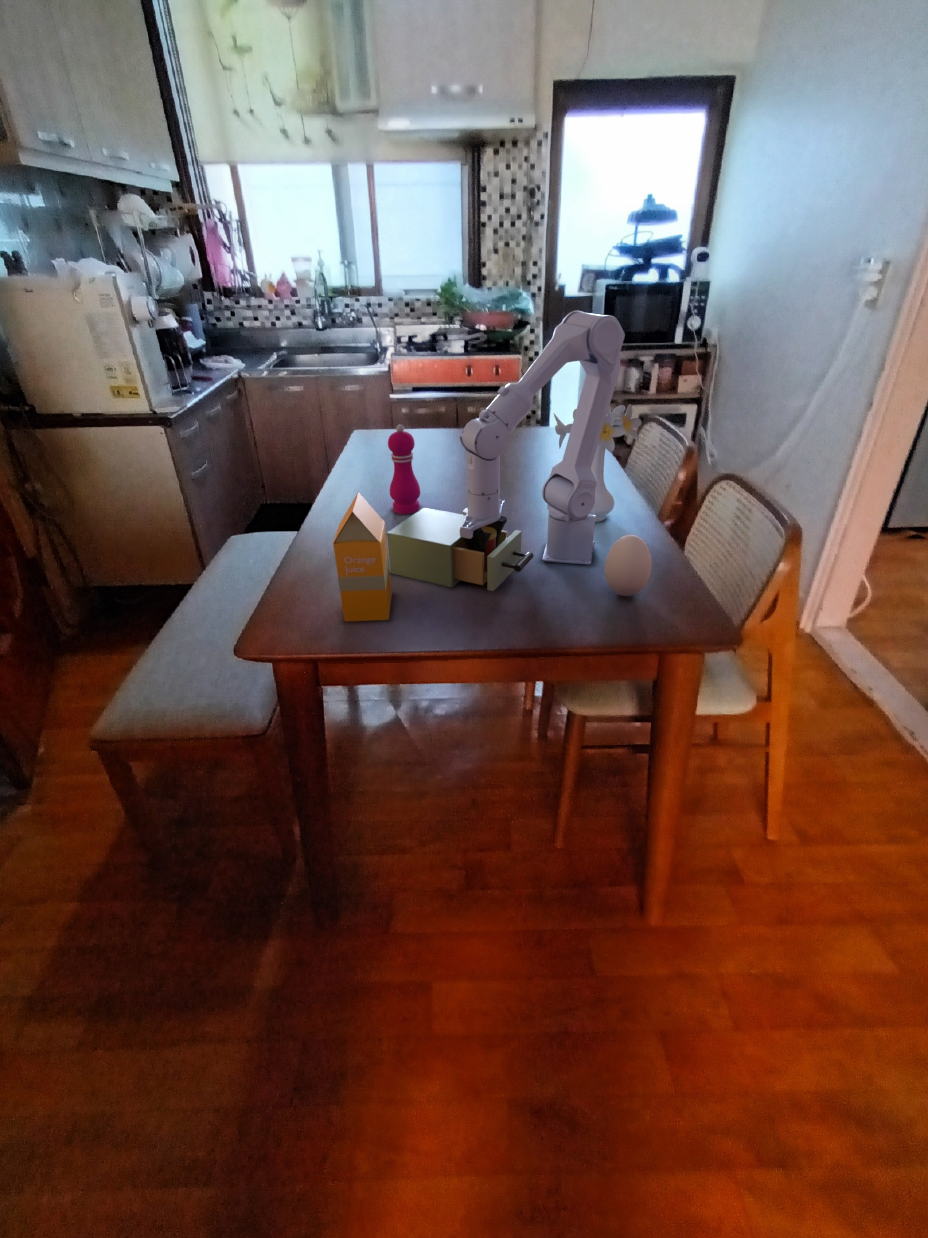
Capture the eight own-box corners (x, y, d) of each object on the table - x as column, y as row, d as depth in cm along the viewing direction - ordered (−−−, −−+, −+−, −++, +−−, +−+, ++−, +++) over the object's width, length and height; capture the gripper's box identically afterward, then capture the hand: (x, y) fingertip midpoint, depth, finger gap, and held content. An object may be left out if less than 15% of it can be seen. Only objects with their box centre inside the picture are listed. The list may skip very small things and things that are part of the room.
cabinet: (484, 557, 125) (484, 518, 121) (452, 587, 115) (450, 545, 110) (426, 545, 131) (424, 507, 126) (390, 573, 121) (386, 532, 116)
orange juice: (392, 594, 113) (382, 489, 103) (389, 620, 106) (377, 510, 95) (349, 596, 113) (335, 491, 103) (343, 621, 106) (326, 511, 95)
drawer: (539, 566, 119) (540, 534, 116) (513, 596, 110) (513, 561, 107) (464, 551, 126) (463, 520, 122) (433, 577, 117) (431, 544, 113)
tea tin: (498, 561, 119) (498, 527, 115) (494, 573, 115) (494, 537, 111) (474, 559, 120) (473, 525, 116) (469, 571, 116) (468, 535, 112)
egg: (593, 594, 112) (598, 536, 106) (618, 579, 116) (624, 522, 110) (631, 610, 107) (639, 550, 101) (655, 593, 111) (665, 535, 105)
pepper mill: (385, 512, 147) (376, 426, 136) (401, 501, 152) (394, 419, 142) (411, 517, 144) (404, 430, 133) (427, 506, 149) (422, 422, 139)
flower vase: (545, 508, 147) (550, 398, 133) (622, 505, 147) (635, 396, 134) (553, 530, 136) (560, 414, 122) (637, 527, 136) (653, 411, 123)
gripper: (481, 474, 117) (482, 540, 124) (443, 500, 106) (446, 570, 113) (515, 479, 114) (514, 546, 121) (480, 506, 103) (481, 578, 110)
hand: (484, 558), depth 117 cm, fingers closed on tea tin, 4 cm apart
